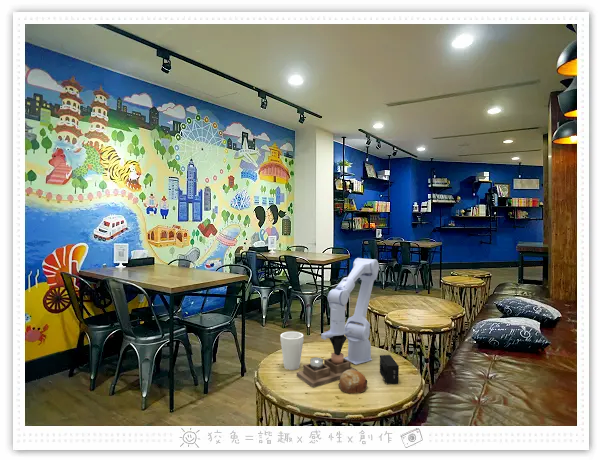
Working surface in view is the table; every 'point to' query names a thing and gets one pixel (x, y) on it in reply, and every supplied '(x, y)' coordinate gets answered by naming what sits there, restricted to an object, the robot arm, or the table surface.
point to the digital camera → (389, 369)
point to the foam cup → (291, 349)
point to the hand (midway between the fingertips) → (337, 354)
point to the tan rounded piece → (337, 358)
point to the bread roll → (352, 382)
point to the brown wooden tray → (324, 373)
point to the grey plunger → (316, 363)
